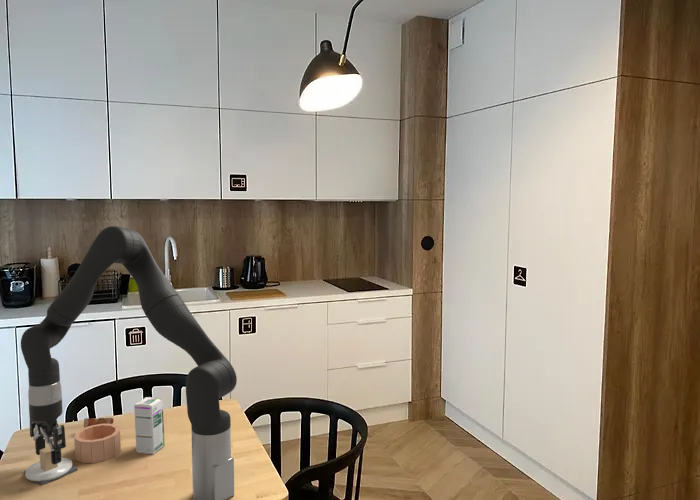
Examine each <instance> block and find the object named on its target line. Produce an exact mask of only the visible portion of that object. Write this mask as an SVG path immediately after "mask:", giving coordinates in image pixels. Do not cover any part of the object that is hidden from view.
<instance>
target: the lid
mask: <svg viewBox="0 0 700 500" xmlns="http://www.w3.org/2000/svg"><path fill="white" fill-rule="evenodd" d="M72 465H73V461H72V459H70V458H67V457H61V462H60V463H57V464H55V465H53V464H52V463H51V449H50V446H47V447H46V446H45V448H44V449H41V450H40V455H39V461H38V462H35V463H33V464H32V465H30V466H28V467H27V468H26V469H25V470H26V471H25V470H24V471H25V473H24V475H25V478H26V480H28V481H31V482H37V481H46V480H51V479H55V478H58V477H60V476H62V475H64V474H66V473H67V472H69V471H70V470H71V468H72ZM58 479H59V478H58Z"/></svg>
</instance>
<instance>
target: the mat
mask: <svg viewBox="0 0 700 500" xmlns="http://www.w3.org/2000/svg"><path fill="white" fill-rule="evenodd" d="M26 470H27V469H25V470H23V473H24V474H25V471H26ZM77 471H79V468H78V467H76V466H74V465H73V464H72V468H71V470H70V471H69V472H67V473H66V474H64V475H62V476H60V477H58V478H55V479H51V480H46V481H36V482H37V483H38V484H40V485H42V486H44V485H46V484H48V483H51V482H53V481H55V480H58V479H61V478H64V477H65V476H68V475H71V474H72V473H74V472H77Z"/></svg>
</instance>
